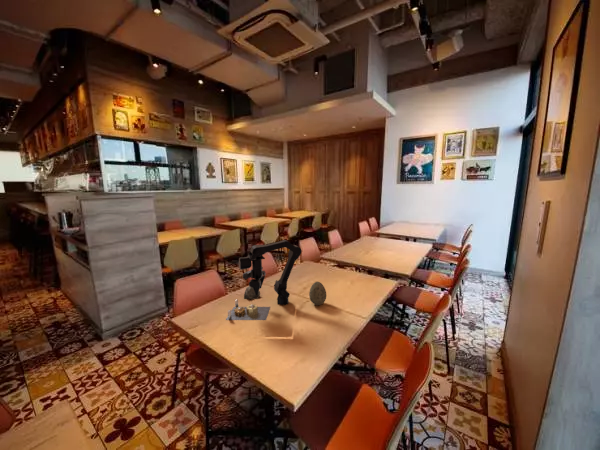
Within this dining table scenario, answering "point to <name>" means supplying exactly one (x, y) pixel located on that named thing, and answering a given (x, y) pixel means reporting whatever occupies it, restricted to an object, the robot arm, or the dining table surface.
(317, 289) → the decorative egg
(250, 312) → the hollow octagonal tube
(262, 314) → the carrier
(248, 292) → the grey rock
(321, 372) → the dining table surface
